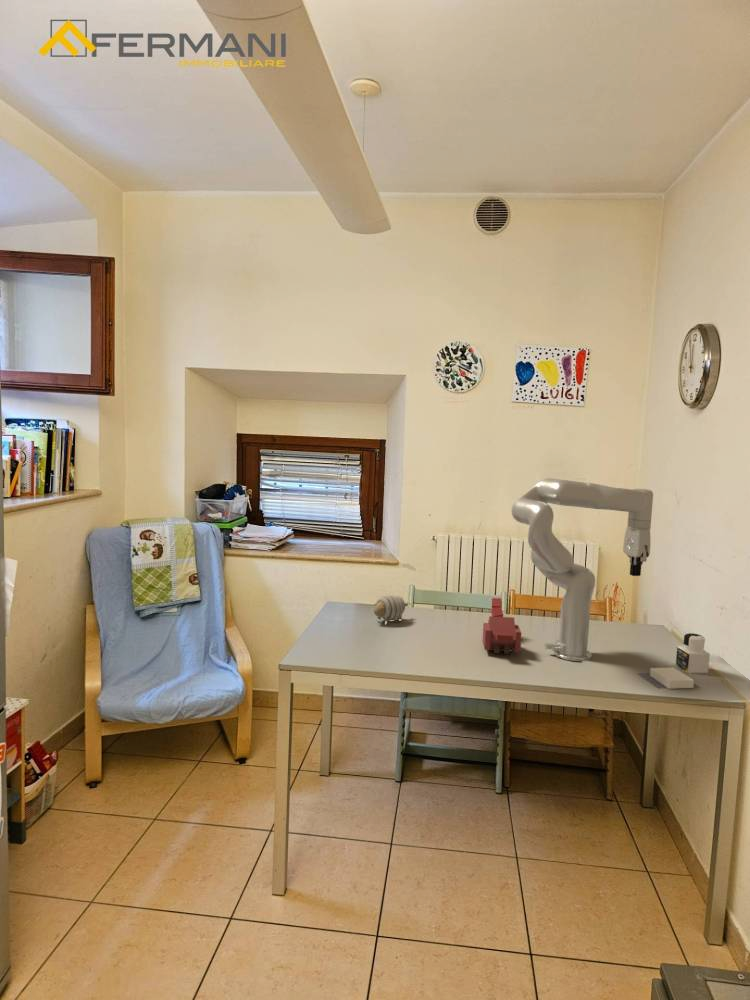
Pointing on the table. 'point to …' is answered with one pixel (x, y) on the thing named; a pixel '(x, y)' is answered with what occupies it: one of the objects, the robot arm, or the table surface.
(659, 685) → the mat
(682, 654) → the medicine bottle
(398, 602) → the toy sheep
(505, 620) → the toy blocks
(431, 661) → the table surface
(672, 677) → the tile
